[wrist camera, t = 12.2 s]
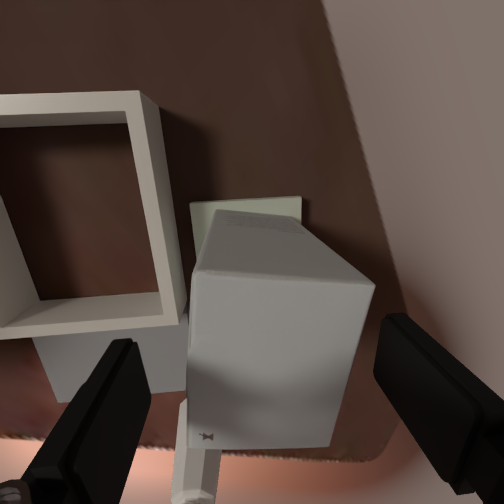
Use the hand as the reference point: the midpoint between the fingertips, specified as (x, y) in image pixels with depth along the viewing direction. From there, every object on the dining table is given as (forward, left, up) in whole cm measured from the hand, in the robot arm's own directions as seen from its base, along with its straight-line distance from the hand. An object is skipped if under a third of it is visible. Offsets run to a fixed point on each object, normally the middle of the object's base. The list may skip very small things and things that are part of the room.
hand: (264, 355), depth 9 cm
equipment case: (+2, -13, -13) cm, 19 cm away
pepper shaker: (+19, -6, -14) cm, 24 cm away
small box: (0, 0, -13) cm, 13 cm away
